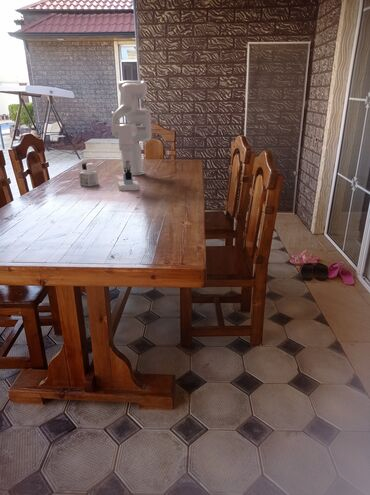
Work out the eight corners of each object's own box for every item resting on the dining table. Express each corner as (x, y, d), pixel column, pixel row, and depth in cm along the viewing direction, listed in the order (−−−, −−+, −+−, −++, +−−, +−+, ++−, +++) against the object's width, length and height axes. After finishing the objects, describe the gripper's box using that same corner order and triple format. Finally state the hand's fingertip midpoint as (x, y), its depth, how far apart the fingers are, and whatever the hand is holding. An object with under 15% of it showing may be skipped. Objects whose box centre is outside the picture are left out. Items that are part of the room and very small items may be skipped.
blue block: (123, 182, 216) (122, 172, 214) (132, 182, 217) (131, 171, 215) (124, 184, 212) (123, 173, 210) (132, 183, 213) (132, 173, 211)
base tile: (118, 186, 220) (117, 181, 218) (136, 185, 222) (136, 180, 221) (119, 190, 210) (119, 185, 209) (139, 189, 212) (138, 184, 211)
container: (80, 185, 223) (77, 163, 218) (88, 182, 229) (86, 161, 225) (90, 186, 220) (88, 164, 215) (98, 184, 226) (96, 162, 221)
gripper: (118, 145, 214) (120, 175, 221) (120, 149, 199) (122, 181, 205) (131, 145, 216) (132, 174, 222) (134, 149, 200) (136, 180, 207)
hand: (127, 177), depth 214 cm, fingers open, 9 cm apart
